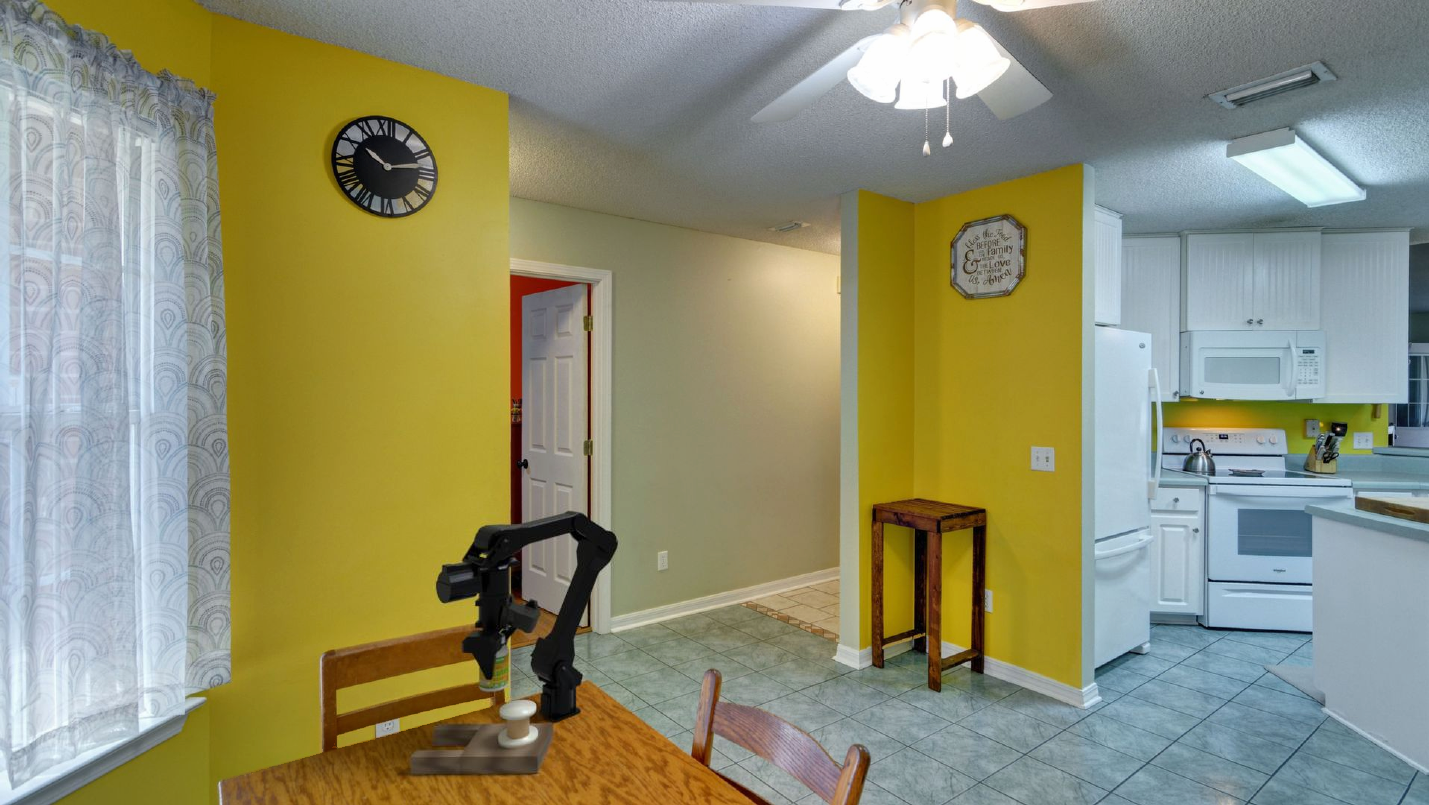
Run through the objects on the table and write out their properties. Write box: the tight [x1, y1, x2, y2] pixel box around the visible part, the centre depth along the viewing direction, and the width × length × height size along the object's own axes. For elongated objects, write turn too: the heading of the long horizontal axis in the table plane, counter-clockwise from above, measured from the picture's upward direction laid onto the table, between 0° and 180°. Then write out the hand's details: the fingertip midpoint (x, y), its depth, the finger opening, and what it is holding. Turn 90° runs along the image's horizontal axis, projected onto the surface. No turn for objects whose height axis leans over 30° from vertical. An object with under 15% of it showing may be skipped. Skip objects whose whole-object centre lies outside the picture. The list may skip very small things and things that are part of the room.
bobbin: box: [498, 699, 538, 749], centre depth 124 cm, size 7×7×6 cm
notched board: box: [410, 722, 554, 775], centre depth 124 cm, size 22×12×3 cm, turn 91°
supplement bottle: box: [478, 633, 510, 693], centre depth 130 cm, size 5×5×10 cm
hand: (494, 673), depth 130 cm, fingers closed on supplement bottle, 5 cm apart
